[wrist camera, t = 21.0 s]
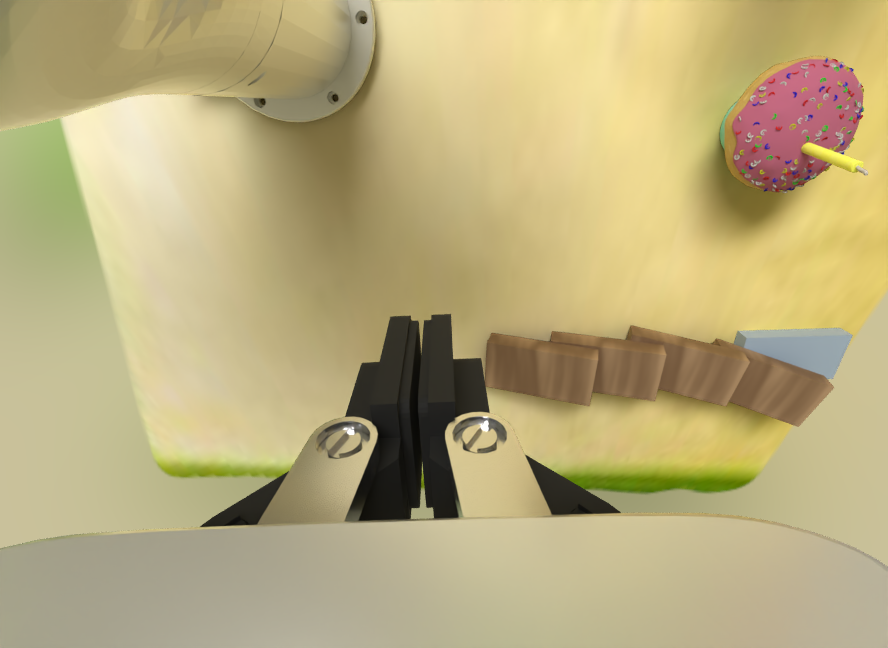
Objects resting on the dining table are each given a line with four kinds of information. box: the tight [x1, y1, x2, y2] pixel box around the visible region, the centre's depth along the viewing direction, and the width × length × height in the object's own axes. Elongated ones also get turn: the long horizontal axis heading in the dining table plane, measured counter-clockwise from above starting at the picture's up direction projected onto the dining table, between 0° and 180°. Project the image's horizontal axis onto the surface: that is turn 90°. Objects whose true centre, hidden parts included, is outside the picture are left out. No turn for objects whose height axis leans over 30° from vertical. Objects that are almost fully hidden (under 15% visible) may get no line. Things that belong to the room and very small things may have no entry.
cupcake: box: [720, 56, 868, 193], centre depth 29 cm, size 9×8×12 cm
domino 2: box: [551, 331, 666, 401], centre depth 41 cm, size 2×5×10 cm
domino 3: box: [626, 326, 750, 406], centre depth 41 cm, size 2×5×10 cm
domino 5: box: [713, 339, 834, 426], centre depth 42 cm, size 2×5×10 cm
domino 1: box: [485, 333, 598, 406], centre depth 41 cm, size 2×5×10 cm
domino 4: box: [734, 328, 853, 379], centre depth 43 cm, size 2×5×10 cm
